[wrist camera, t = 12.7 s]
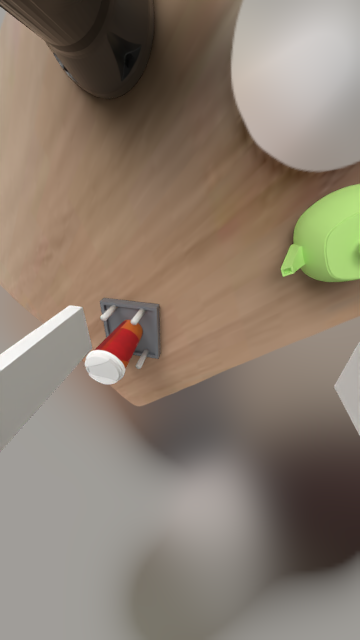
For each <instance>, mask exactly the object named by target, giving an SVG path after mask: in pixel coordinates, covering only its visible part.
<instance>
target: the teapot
mask: <svg viewBox="0 0 360 640" xmlns="http://www.w3.org/2000/svg"><path fill="white" fill-rule="evenodd" d="M299 268H300V269H301V270H302V271H303V272H304V273H305V274H306V275H308V276H309V277H311V278H313V279H316V280H319V281H324V282H345V281H353V280H358V279H360V184H357V185H352V186H348V187H345V188H342V189H339V190H337V191H335V192H332V193H330V194H328V195H327V196H325V197H323V198H322V199H320V200H319V201H317V202H316V203H314V204H313V205H312V206H311V207H309V208H308V209H307V210H306V211H305V212H304V213H303V214H302V215H301V217H300V218H299V220H298V221H297V223H296V226H295V229H294V235H293V244H292V245H290V248H289V250H288V252H287V255H286V257H285V259H284V262H283V264H282V267H281V272H282V276H283V277H284V276H287V275H291V274H294V272H296V271H297V270H298V269H299Z"/></svg>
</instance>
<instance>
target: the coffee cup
mask: <svg viewBox="0 0 360 640" xmlns="http://www.w3.org/2000/svg"><path fill="white" fill-rule="evenodd" d="M142 334H143V329H142V327H141V325H140V324H139V323H137V324H136V325H132V324H131V320H125V321H123V322H122V323H121V324H120V325H119V326H118V327H117V328H116V329H115V330H114V331H113V332H112V333H111V334H110V335H109V336H108V337H107V338H106V339H105V340H104V341H103V342H102V343H101V344H100V345H99V346H98V347H97V348H96V349H95V350H94V351H91V352H90V353H89V354H88V355H87V357H86V361H85V366H86V370H87V372H88V373H89V375H90V377H91V378H93V379H94V380H96V381H97V382H100V383H102V384H114V383H116V382H117V381H118V380H120V379H122V378H123V376H124V374H125V369H126V367H127V365H128V363H129V361H130V359H131V357H132V355H133V353H134V351H135V349H136V347H137V345H138V343H139V341H140V339H141V337H142Z"/></svg>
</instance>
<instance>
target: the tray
mask: <svg viewBox="0 0 360 640" xmlns="http://www.w3.org/2000/svg"><path fill="white" fill-rule="evenodd" d="M100 305H101V311H102V315H101V317H100V319H101V320H102V321H104V327H105V332H106V338H107V337H108V336H109V335H110V334H111V333H112V332H113V331H114V330H115V329H116V328H117V327H118V326H119V325H120V324H121V323H122V322H123V321H125V320H131V324H132V325H136V324H137V323H139V324H140V325H141V327H142V329H143V334H142V337H141V339H140V341H139V343H138V345H137V347H136V349H135V351H134V353H133V355H138V356H141V357H140V358H139V360H138V362H137V364H136V368H137V369H140V368H141V367H142V365H143V363H144V361H145V359H146V357H151V358H157V359H159V356H160V354H161V352H160V318H159V304H152V303H144V302H135V301H127V300H118V299H109V298H103V299H102V300H101V301H100Z"/></svg>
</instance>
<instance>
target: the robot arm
mask: <svg viewBox="0 0 360 640" xmlns="http://www.w3.org/2000/svg"><path fill="white" fill-rule="evenodd" d="M0 7H2V8H3V9H4V10H6V11H7V12H8V13H10V14H11V15H12V16H13V17H15V18H16V19H17V20H19V21H20V22H21V23H23V24H24V25H25V26H26V27H28V28H29V29H30V30H32V31H33V32H34V33H36V34H37V35H38V36H40V37H41V38H42V39H43V40H44V41H45V42H46V43H47V45H48V47H49V48H50V50H51V51H52V52H53V54H54V56H55V57H56V59H57V61H58V62H59V64H60V65H61V67H62V68H63V70H64V71H65V72H66V74H67V75H68V76H69V77H70V78H71V79H72V80H73V81H74V82H75V83H76V84H77V85H79V86H80V87H81V88H83V89H84V90H86V91H87V92H89V93H90V94H92V95H94V96H97V97H100V98H105V99H111V98H116V97H119V96H121V95H123V94H125V93H127V92H128V91H129V90H130V89H131V88H132V87H133V86H134V85H135V84H136V83H137V81H138V80H139V79H140V77H141V75H142V73H143V71H144V69H145V67H146V65H147V62H148V59H149V56H150V52H151V48H152V42H153V34H154V7H153V0H0ZM91 349H92V345H91V341H90V336H89V332H88V328H87V324H86V319H85V315H84V311H83V307H78V306H70V305H69V306H68V307H67V308H65V309H64V310H62V311H61V312H60V313H58V314H57V315H55V316H54V317H52V318H51V319H50V320H48V321H47V322H45V323H44V324H43V325H41V326H40V327H38V328H37V329H36V330H34V331H33V332H31V333H30V334H28V335H27V336H26V337H24V338H23V339H21V340H20V341H19V342H17V343H16V344H14V345H13V346H12V347H10V348H9V349H7V350H6V351H4V352H3V353H2V354H0V452H1V451H2V450H3V449H4V447H5V446H6V445H7V444H8V443H9V442H10V441H11V439H12V438H13V437H14V436H15V435H16V434H17V433H18V432H19V430H20V429H21V428H22V427H23V426H24V425H25V424H26V423H27V421H28V420H29V419H30V418H31V417H32V416H33V415H34V414H35V412H36V411H37V410H38V409H39V408H40V407H41V406H42V404H43V403H44V402H45V401H46V400H47V399H48V398H49V397H50V395H51V394H52V393H53V392H54V391H55V390H56V389H57V387H58V386H59V385H60V384H61V383H62V382H63V381H64V380H65V378H66V377H67V376H68V375H69V374H70V373H71V372H72V371H73V369H74V368H75V367H76V366H77V365H78V364H79V363H80V362H81V360H82V359H83V358H84V357H85V356H86V355H87V354H88V353H89V351H90V350H91ZM334 388H335V389H336V391H337V393H338V395H339V397H340V399H341V401H342V403H343V405H344V407H345V409H346V411H347V412H348V414H349V416H350V418H351V420H352V422H353V424H354V426H355V428H356V430H357V431H358V433H359V435H360V342H359V343H358V345H357V347H356V348H355V350H354V352H353V354H352V355H351V357H350V359H349V361H348V362H347V364H346V366H345V368H344V369H343V371H342V373H341V375H340V377H339V379H338V380H337V382H336V384H335V386H334Z"/></svg>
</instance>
